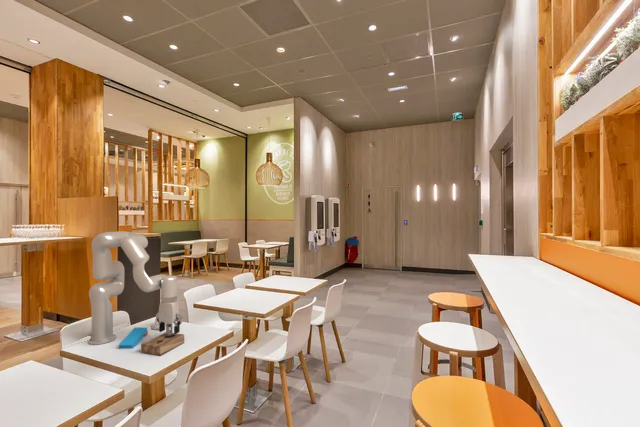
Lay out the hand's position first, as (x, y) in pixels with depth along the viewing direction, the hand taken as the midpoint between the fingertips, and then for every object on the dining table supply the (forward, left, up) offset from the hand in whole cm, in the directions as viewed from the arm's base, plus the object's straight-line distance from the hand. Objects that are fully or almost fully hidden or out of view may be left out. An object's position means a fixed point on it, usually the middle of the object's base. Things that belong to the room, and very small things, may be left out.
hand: (169, 332), depth 162 cm
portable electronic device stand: (-23, +18, -7) cm, 30 cm away
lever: (-21, -2, -7) cm, 22 cm away
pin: (0, 0, -6) cm, 6 cm away
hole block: (0, -4, -7) cm, 8 cm away
